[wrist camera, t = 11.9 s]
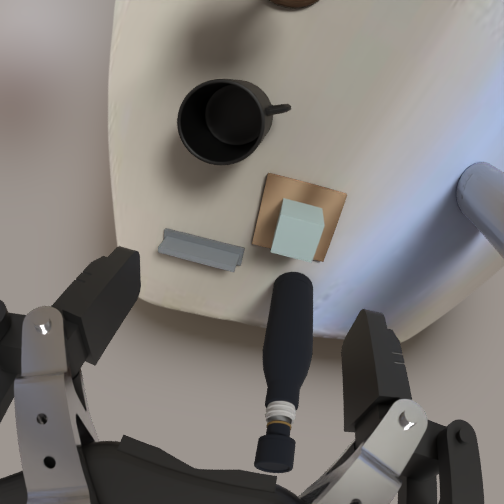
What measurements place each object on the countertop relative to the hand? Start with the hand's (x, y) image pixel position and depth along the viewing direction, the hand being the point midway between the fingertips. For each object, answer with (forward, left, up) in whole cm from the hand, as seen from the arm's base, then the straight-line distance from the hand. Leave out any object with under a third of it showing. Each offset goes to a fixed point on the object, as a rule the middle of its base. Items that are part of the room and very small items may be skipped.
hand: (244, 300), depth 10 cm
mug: (+6, -2, -32) cm, 33 cm away
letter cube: (-4, +11, -31) cm, 33 cm away
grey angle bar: (+9, +20, -32) cm, 39 cm away
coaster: (-4, +11, -32) cm, 34 cm away
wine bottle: (-7, +23, -32) cm, 40 cm away
